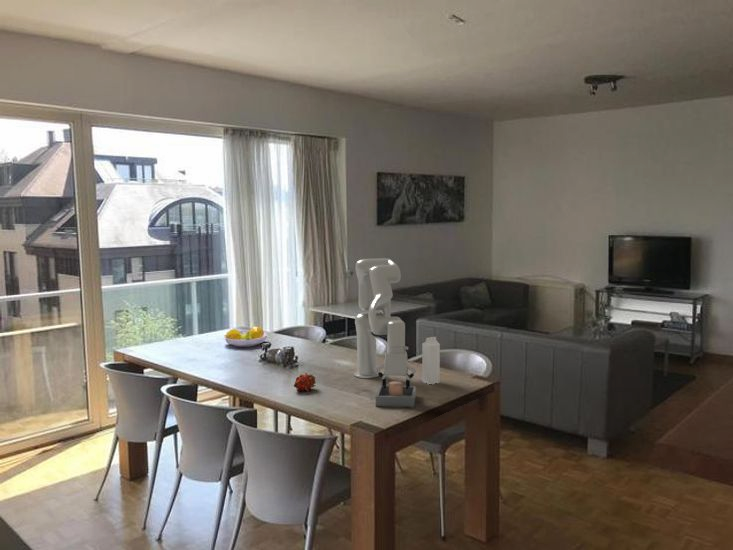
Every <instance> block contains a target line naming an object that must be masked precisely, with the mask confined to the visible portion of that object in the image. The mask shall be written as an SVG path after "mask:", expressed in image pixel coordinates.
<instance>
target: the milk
mask: <svg viewBox="0 0 733 550" xmlns="http://www.w3.org/2000/svg"><path fill="white" fill-rule="evenodd" d="M421 346H422V347H421V348H422V349H421V355H422V362H421V363H422V364H421V367H422V368H421V369H422V370H421V372H422V373H421V375H422V377H421V381H422V383H424V384H426V383H427V385H429V384H432V385H436V384H435V383H437V384H440V380H441V379H440V375H441V372H440V371H441V369H440V366H441V361H440V360H441V357H440V356H441V353H440V352H441V351H440V350H441V345H440V343H439V342H438V340H437V336H430V337H426V338H425V341H424V342H422V344H421Z"/></svg>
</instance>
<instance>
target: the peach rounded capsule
mask: <svg viewBox="0 0 733 550" xmlns="http://www.w3.org/2000/svg"><path fill="white" fill-rule="evenodd" d="M388 385H389V396H399V397H403V386H404V383H403V382H401V381H390V382H388Z"/></svg>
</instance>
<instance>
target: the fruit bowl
mask: <svg viewBox="0 0 733 550" xmlns="http://www.w3.org/2000/svg"><path fill="white" fill-rule="evenodd" d="M223 337H224V338H223V339H224V340H225V342H226V343H227V344H229V345H231V346H234V347H236V348H242V347H243V348H248V347H249V348H251V346H252V347H254V346H257V345H259V344H262V343H264V342H265V341H266V339H267V337H268V334H267V332H265V331H264V330H263V329H262V328H261V327H260V326H252V327H251V329H250V330H242V331H240V330H238V329H236V328H233V329H230V330H229V331H227V332H226V334H225V335H223Z"/></svg>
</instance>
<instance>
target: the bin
mask: <svg viewBox="0 0 733 550" xmlns="http://www.w3.org/2000/svg"><path fill="white" fill-rule="evenodd" d="M416 397H417V387H416V385H410V387H408V389H406V385H403V397H399V396H389V384H386V388H384V386H382V384H380V385H379V387H378V390H377V391H376V394H375V407H376V406H388V407H387V408H401V407H414V408H415V404H414V403H416Z"/></svg>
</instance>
